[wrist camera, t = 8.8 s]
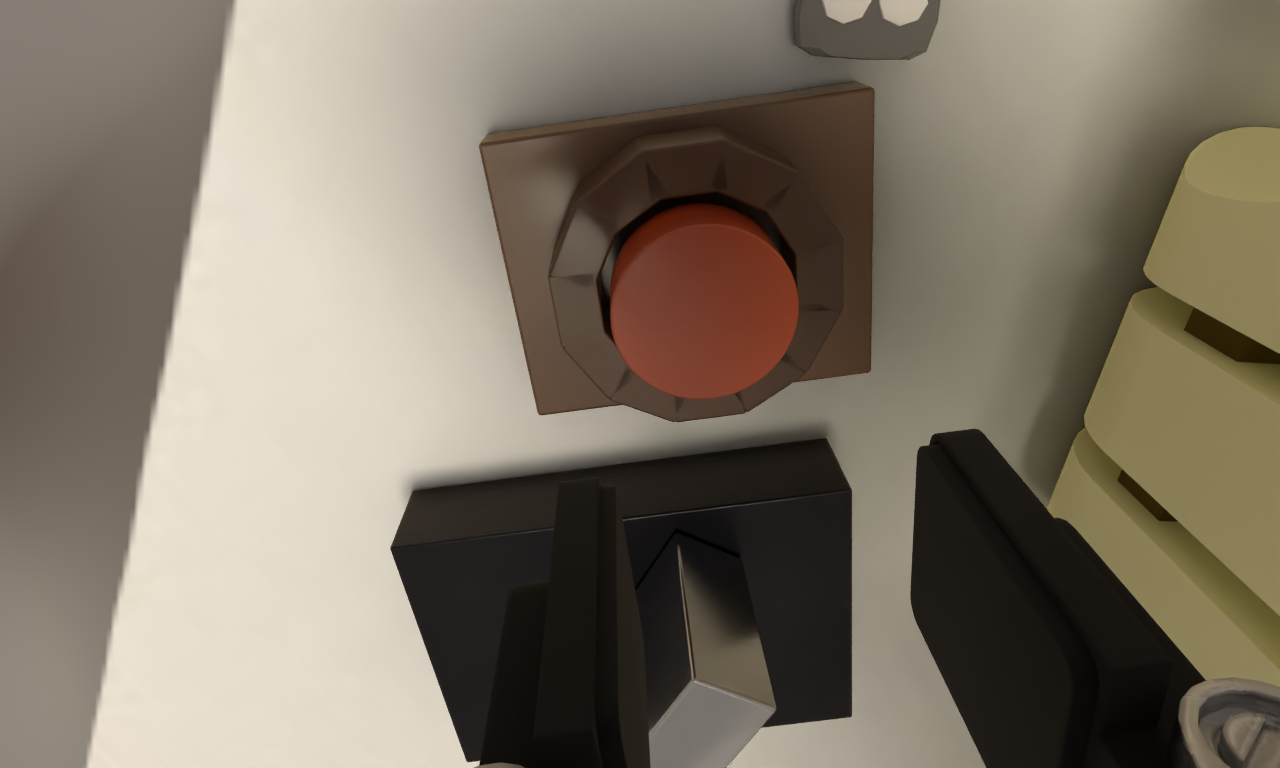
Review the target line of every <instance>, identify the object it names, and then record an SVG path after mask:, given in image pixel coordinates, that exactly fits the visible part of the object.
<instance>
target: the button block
mask: <svg viewBox="0 0 1280 768" xmlns="http://www.w3.org/2000/svg"><path fill="white" fill-rule="evenodd" d="M874 98H875V91H874V88H871V87H869V86H866V85H863V84H861V83H858V82H850V83H843V84H836V85H829V86H822V87H815V88H808V89H801V90H794V91H787V92H780V93H773V94H765V95H758V96H751V97H744V98H737V99H730V100H723V101H716V102H709V103H702V104H695V105H688V106H680V107H673V108H666V109H659V110H652V111H645V112H638V113H631V114H624V115H617V116H610V117H603V118H596V119H588V120H581V121H574V122H567V123H560V124H553V125H546V126H539V127H532V128H525V129H518V130H511V131H503V132H496V133H489V134H488V135H486V137H485V138H484V139H483V140H482V141H481V143H480V144H479V149H480V154H481V158H482V163H483V167H484V172H485V176H486V181H487V185H488V190H489V194H490V199H491V203H492V208H493V212H494V217H495V221H496V226H497V231H498V235H499V240H500V244H501V249H502V253H503V258H504V262H505V267H506V271H507V276H508V280H509V285H510V289H511V294H512V298H513V303H514V307H515V312H516V317H517V321H518V326H519V330H520V335H521V339H522V344H523V348H524V353H525V357H526V362H527V366H528V371H529V375H530V380H531V384H532V389H533V394H534V398H535V403H536V407H537V412H538V414H539V415H547V414H555V413H562V412H570V411H578V410H585V409H593V408H601V407H608V406H616V405H626V406H629V407H632V408H634V409H637V410H640V411H643V412H646V413H649V414H652V415H655V416H658V417H660V418H663V419H666V420H669V421H672V422H675V421H676V422H683V421H690V420H698V419H706V418H714V417H721V416H729V415H737V414H744V413H745V412H748V411H750V410H752V409H753V408H755V407H756V406H758V405H759V404H761V403H762V402H764V401H765V400H767V399H768V398H770V397H772V396H773V395H775V394H776V393H778V392H779V391H781V390H782V389H784V388H785V387H787V386H788V385H790V384H791V383H793V382H800V381H808V380H815V379H823V378H831V377H838V376H846V375H854V374H861V373H869V372H870V371H871V331H872V254H873V176H874ZM692 203H711V204H717V205H722V206H726V207H729V208H732V209H735V210H737V211H739V212H741V213H743V214H745V215H746V216H748V217H749V218H751V219H752V220H754V221H755V222H756V223H757V224H758V225H759V226H760V227H761V228H762V229H763V230H764V231H765V232H766V233H767V235H768V236H769V237H770V239H771V240H772V242H773V243H774V245H775V246H776V248H777V250H778V251H779V253H780V254H781V256H782V257H783V259H784V261H785V262H786V264H787V266H788V267H789V269H790V271H791V273H792V275H793V278H794V280H795V284H796V287H797V291H798V299H799V316H798V321H797V327H796V330H795V333H794V336H793V339H792V341H791V343H790V345H789V347H788V349H787V351H786V352H785V354H784V355H783V357H782V359H781V360H780V361H779V362H778V363H777V365H776V366H775V367H774V368H773V369H772V370H771V371H770V372H769V373H768V374H767V375H766V376H764V377H763V378H762V379H760V380H759V381H758V382H756V383H755V384H753V385H751V386H749V387H748V388H746V389H744V390H741V391H739V392H737V393H734V394H731V395H728V396H724V397H719V398H714V399H687V398H681V397H676V396H673V395H669V394H666V393H664V392H662V391H659V390H657V389H655V388H654V387H652V386H650V385H649V384H647V383H646V382H644V381H643V380H642V379H640V378H639V377H638V376H637V375H636V374H635V373H634V372H633V371H632V370H631V369H630V368H629V367H628V365H627V364H626V363H625V361H624V360H623V358H622V356H621V355H620V353H619V351H618V349H617V346H616V344H615V341H614V338H613V333H612V329H611V318H610V288H611V276H612V271H613V267H614V264H615V261H616V258H617V256H618V254H619V252H620V250H621V248H622V247H623V245H624V244H625V242H626V241H627V239H628V238H629V237H630V236H631V234H632V233H633V232H634V231H635V230H636V229H637V228H638V227H639V226H641V225H642V224H643V223H644V222H645V221H647V220H648V219H650V218H651V217H653V216H654V215H656V214H658V213H660V212H662V211H664V210H667V209H670V208H673V207H676V206H680V205H685V204H692Z"/></svg>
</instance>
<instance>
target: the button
mask: <svg viewBox="0 0 1280 768" xmlns="http://www.w3.org/2000/svg"><path fill="white" fill-rule="evenodd" d="M798 316H799V299H798V291H797V287H796V284H795V280H794V278H793V275H792V273H791V271H790V269H789V267H788V266H787V264H786V262H785V261H784V259H783V257H782V256H781V254H780V253H779V251H778V250H777V248H776V246H775V245H774V243H773V242H772V240H771V239H770V237H769V236H768V235H767V233H766V232H765V231H764V230H763V229H762V228H761V227H760V226H759V225H758V224H757V223H756V222H755V221H754V220H752V219H751V218H749V217H748V216H746V215H745V214H743V213H741V212H739V211H737V210H735V209H732V208H729V207H726V206H722V205H717V204H711V203H692V204H685V205H680V206H676V207H673V208H670V209H667V210H664V211H662V212H660V213H658V214H656V215H654V216H653V217H651V218H650V219H648V220H647V221H645V222H644V223H643V224H642V225H641V226H639V227H638V228H637V229H636V230H635V231H634V232H633V233H632V234H631V236H630V237H629V238H628V239H627V241H626V242H625V244H624V245H623V247H622V248H621V250H620V252H619V254H618V256H617V258H616V261H615V264H614V267H613V271H612V276H611V288H610V318H611V329H612V333H613V338H614V341H615V344H616V346H617V349H618V351H619V353H620V355H621V356H622V358H623V360H624V361H625V363H626V364H627V365H628V367H629V368H630V369H631V370H632V371H633V372H634V373H635V374H636V375H637V376H638V377H639V378H640V379H642V380H643V381H644V382H646V383H647V384H649V385H650V386H652V387H654V388H655V389H657V390H659V391H662V392H664V393H666V394H669V395H673V396H676V397H681V398H687V399H714V398H719V397H724V396H728V395H731V394H734V393H737V392H739V391H741V390H744V389H746V388H748V387H749V386H751V385H753V384H755V383H756V382H758V381H759V380H760V379H762V378H763V377H764V376H766V375H767V374H768V373H769V372H770V371H771V370H772V369H773V368H774V367H775V366H776V365H777V363H778V362H779V361H780V360H781V359H782V357H783V355H784V354H785V352H786V351H787V349H788V347H789V345H790V343H791V341H792V339H793V336H794V333H795V330H796V327H797V321H798Z"/></svg>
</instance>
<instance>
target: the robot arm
mask: <svg viewBox="0 0 1280 768" xmlns="http://www.w3.org/2000/svg"><path fill="white" fill-rule="evenodd" d="M911 605H912V610H913V614H914V617H915V620H916V622H917V625H918V627H919V629H920V631H921V633H922V635H923V637H924V639H925V641H926V643H927V646H928V648H929V650H930V652H931V654H932V656H933V658H934V660H935V662H936V664H937V666H938V668H939V670H940V672H941V675H942V677H943V679H944V681H945V683H946V685H947V687H948V689H949V691H950V693H951V695H952V697H953V699H954V701H955V704H956V706H957V708H958V710H959V712H960V714H961V716H962V718H963V720H964V722H965V724H966V726H967V728H968V731H969V733H970V735H971V737H972V739H973V741H974V743H975V745H976V747H977V749H978V751H979V753H980V755H981V757H982V760H983V762H984V764H985V766H986V768H1280V687H1278V686H1275V685H1271V684H1268V683H1265V682H1262V681H1257V680H1250V679H1242V678H1235V677H1229V678H1218V679H1209V680H1205V678H1204V677H1203V676H1202V675H1201V674H1200V673H1199V671H1198V670H1197V669H1196V668H1195V667H1194V666H1193V665H1192V663H1191V662H1190V661H1189V660H1188V659H1187V658H1186V656H1185V655H1184V654H1183V653H1182V652H1181V651H1180V649H1179V648H1178V647H1177V646H1176V645H1175V644H1174V642H1173V641H1172V640H1171V639H1170V638H1169V637H1168V635H1167V634H1166V633H1165V632H1164V631H1163V630H1162V628H1161V627H1160V626H1159V625H1158V624H1157V623H1156V622H1155V620H1154V619H1153V618H1152V617H1151V616H1150V615H1149V613H1148V612H1147V611H1146V610H1145V609H1144V608H1143V606H1142V605H1141V604H1140V603H1139V602H1138V601H1137V599H1136V598H1135V597H1134V596H1133V595H1132V594H1131V592H1130V591H1129V590H1128V589H1127V588H1126V587H1125V585H1124V584H1123V583H1122V582H1121V581H1120V580H1119V579H1118V577H1117V576H1116V575H1115V574H1114V573H1113V572H1112V570H1111V569H1110V568H1109V567H1108V566H1107V565H1106V563H1105V562H1104V561H1103V560H1102V559H1101V558H1100V556H1099V555H1098V554H1097V553H1096V552H1095V551H1094V549H1093V548H1092V547H1091V546H1090V545H1089V544H1088V542H1087V541H1086V540H1085V539H1084V538H1083V537H1082V536H1081V534H1080V533H1079V532H1078V531H1077V530H1076V529H1075V528H1074V527H1073V526H1072V525H1071V524H1070V523H1069V522H1068V521H1066V520H1064V519H1061V518H1054V517H1053V516H1052V515H1051V514H1050V513H1049V511H1048V510H1047V509H1046V508H1045V507H1044V505H1043V504H1042V503H1041V502H1040V501H1039V499H1038V498H1037V497H1036V496H1035V495H1034V493H1033V492H1032V491H1031V490H1030V489H1029V487H1028V486H1027V485H1026V484H1025V483H1024V481H1023V480H1022V479H1021V478H1020V477H1019V475H1018V474H1017V473H1016V472H1015V471H1014V470H1013V468H1012V467H1011V466H1010V465H1009V464H1008V462H1007V461H1006V460H1005V459H1004V458H1003V456H1002V455H1001V454H1000V453H999V452H998V450H997V449H996V448H995V447H994V446H993V444H992V443H991V442H990V441H989V440H988V438H987V437H986V436H985V435H984V434H983V433H982V432H981V431H980V430H979V429H969V430H961V431H953V432H945V433H937V434H934V435H933V436H932V437H931V440H930V445H928V446H921V447H920V448H919V450H918V453H917V468H916V489H915V510H914V532H913V553H912V574H911ZM475 768H651V766H650V746H649V727H648V708H647V689H646V670H645V652H644V642H643V634H642V627H641V621H640V615H639V610H638V604H637V598H636V592H635V587H634V581H633V575H632V570H631V564H630V558H629V552H628V547H627V541H626V535H625V529H624V524H623V518H622V512H621V506H620V501H619V495H618V490H617V486H616V485H614V486H606V487H602V482H601V479H600V477H593V478H585V479H578V480H570V481H562V482H560V483H559V489H558V498H557V508H556V518H555V528H554V538H553V547H552V557H551V567H550V577H549V581H544V582H536V583H528V584H520V585H513V586H512V587H511V588H510V590H509V594H508V598H507V604H506V610H505V616H504V622H503V628H502V634H501V639H500V645H499V651H498V657H497V663H496V669H495V675H494V681H493V687H492V693H491V699H490V705H489V711H488V717H487V723H486V729H485V735H484V741H483V747H482V753H481V759H480V765H479V766H477V767H475Z"/></svg>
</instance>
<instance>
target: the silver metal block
mask: <svg viewBox="0 0 1280 768" xmlns="http://www.w3.org/2000/svg"><path fill="white" fill-rule="evenodd" d="M635 592H636V598H637V604H638V610H639V615H640V621H641V627H642V634H643V642H644V652H645V670H646V689H647V708H648V727H649V746H650V766H651V768H726V767H727V766H728V765H729V764H730V763H731V761H732V760H733V759H734V758H735V757H736V756H737V755H738V753H739V752H740V751H741V750H742V749H743V748H744V747H745V745H746V744H747V743H748V742H749V741H750V740H751V739H752V737H753V736H754V735H755V734H756V733H757V732H758V730H759V729H760V728H761V727H762V726H763V725H764V724H765V722H766V721H767V720H768V719H769V718H770V717H771V716H772V714H773V713H774V712H775V711H776V704H775V700H774V695H773V691H772V687H771V683H770V678H769V674H768V670H767V665H766V661H765V657H764V652H763V648H762V644H761V639H760V635H759V631H758V626H757V622H756V618H755V613H754V609H753V605H752V600H751V596H750V592H749V587H748V583H747V579H746V574H745V570H744V566H743V561H742V560H741V559H740V558H738V557H735V556H733V555H731V554H728V553H726V552H723V551H721V550H718V549H716V548H714V547H711V546H709V545H706V544H704V543H701V542H699V541H697V540H694V539H692V538H689V537H687V536H684V535H682V534H680V533H675V535H674V536H673V537H672V539H671V540H670V542H669V543H668V545H667V546H666V548H665V549H664V550H663V552H662V553H661V555H660V556H659V558H658V559H657V561H656V562H655V564H654V565H653V566H652V568H651V569H650V571H649V572H648V574H647V575H646V577H645V578H644V580H643V581H642V582H641V584H640V585H639V587H638V588H637V590H636V591H635Z"/></svg>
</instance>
